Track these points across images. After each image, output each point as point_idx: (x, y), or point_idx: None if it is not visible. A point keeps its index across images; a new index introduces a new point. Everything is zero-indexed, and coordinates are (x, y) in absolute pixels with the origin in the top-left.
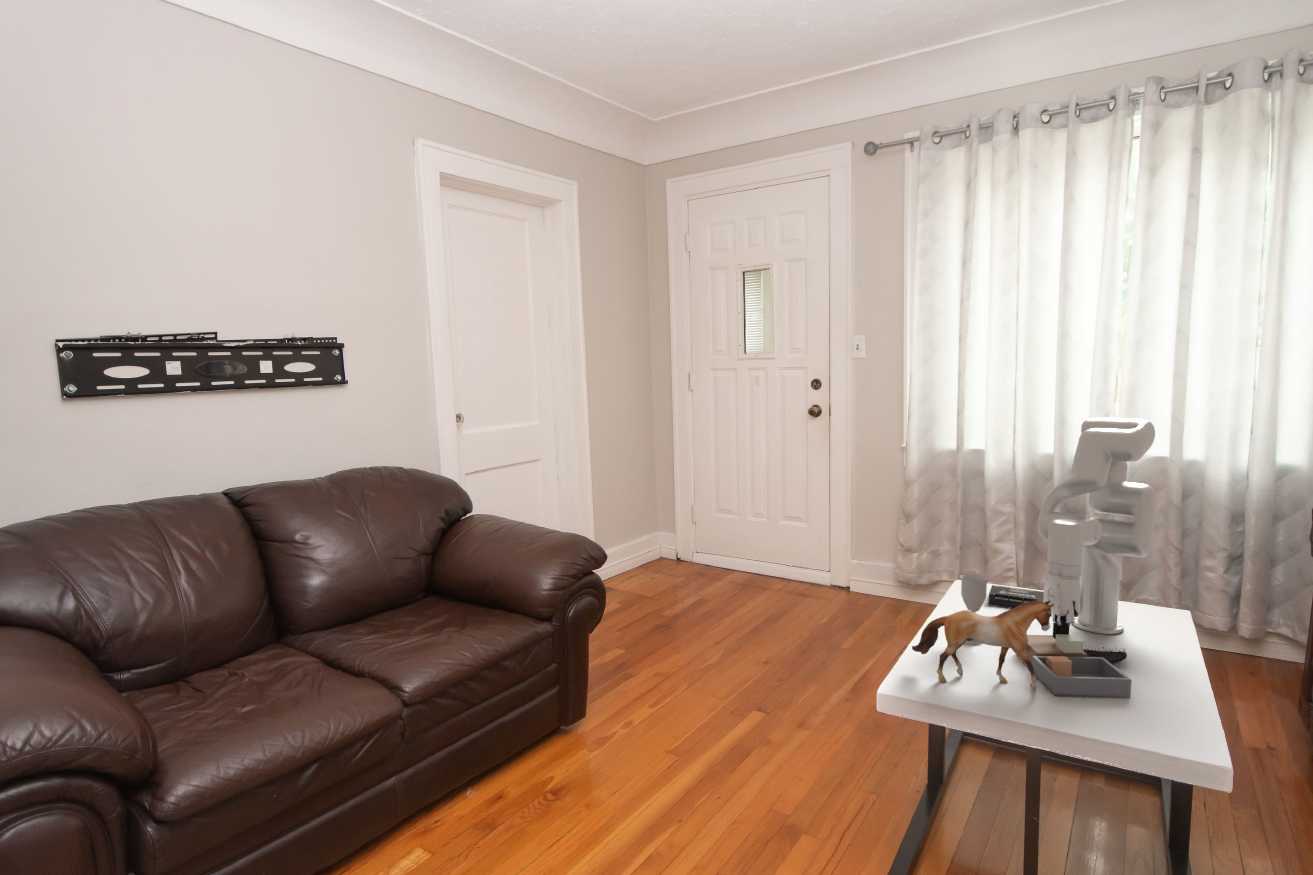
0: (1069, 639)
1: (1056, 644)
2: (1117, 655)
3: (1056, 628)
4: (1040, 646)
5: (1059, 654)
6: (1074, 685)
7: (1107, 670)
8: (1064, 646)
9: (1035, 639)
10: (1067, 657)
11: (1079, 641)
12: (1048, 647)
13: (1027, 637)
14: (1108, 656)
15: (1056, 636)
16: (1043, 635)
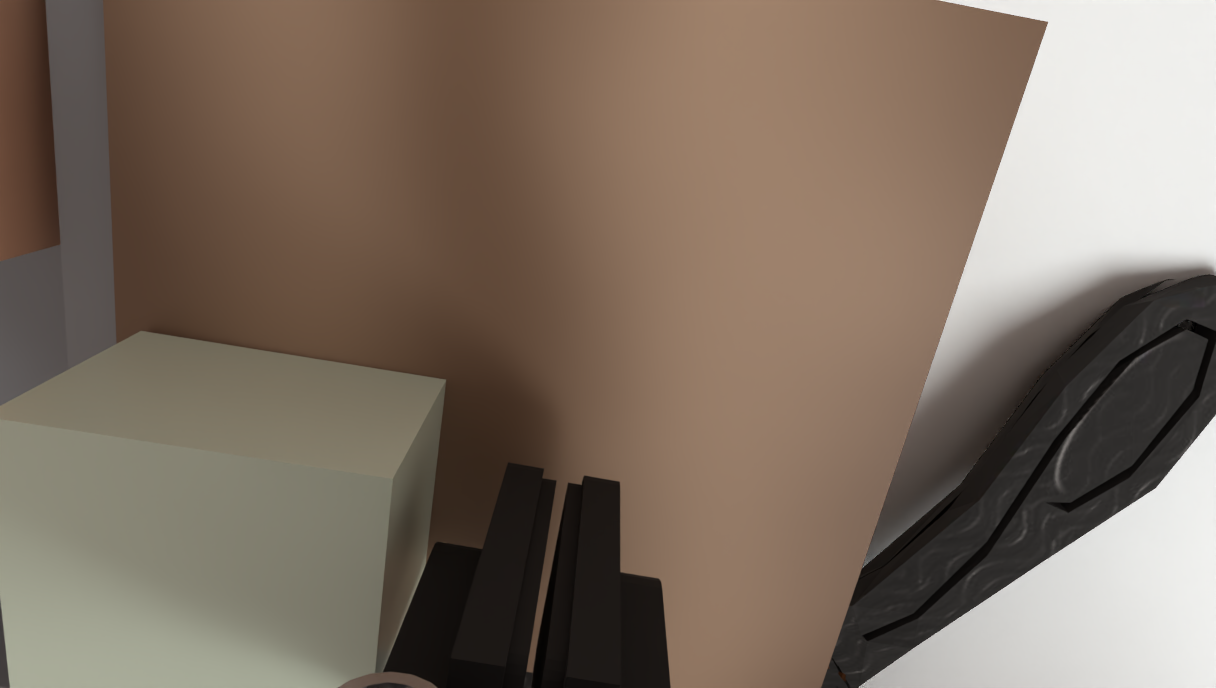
0: (94, 557)
1: (401, 386)
2: None
3: (472, 600)
4: (437, 110)
5: (117, 236)
6: None
7: (1, 615)
8: (71, 372)
9: (752, 221)
10: (84, 317)
11: (8, 662)
12: (386, 225)
13: (870, 132)
14: None
15: (373, 454)
16: (881, 455)
